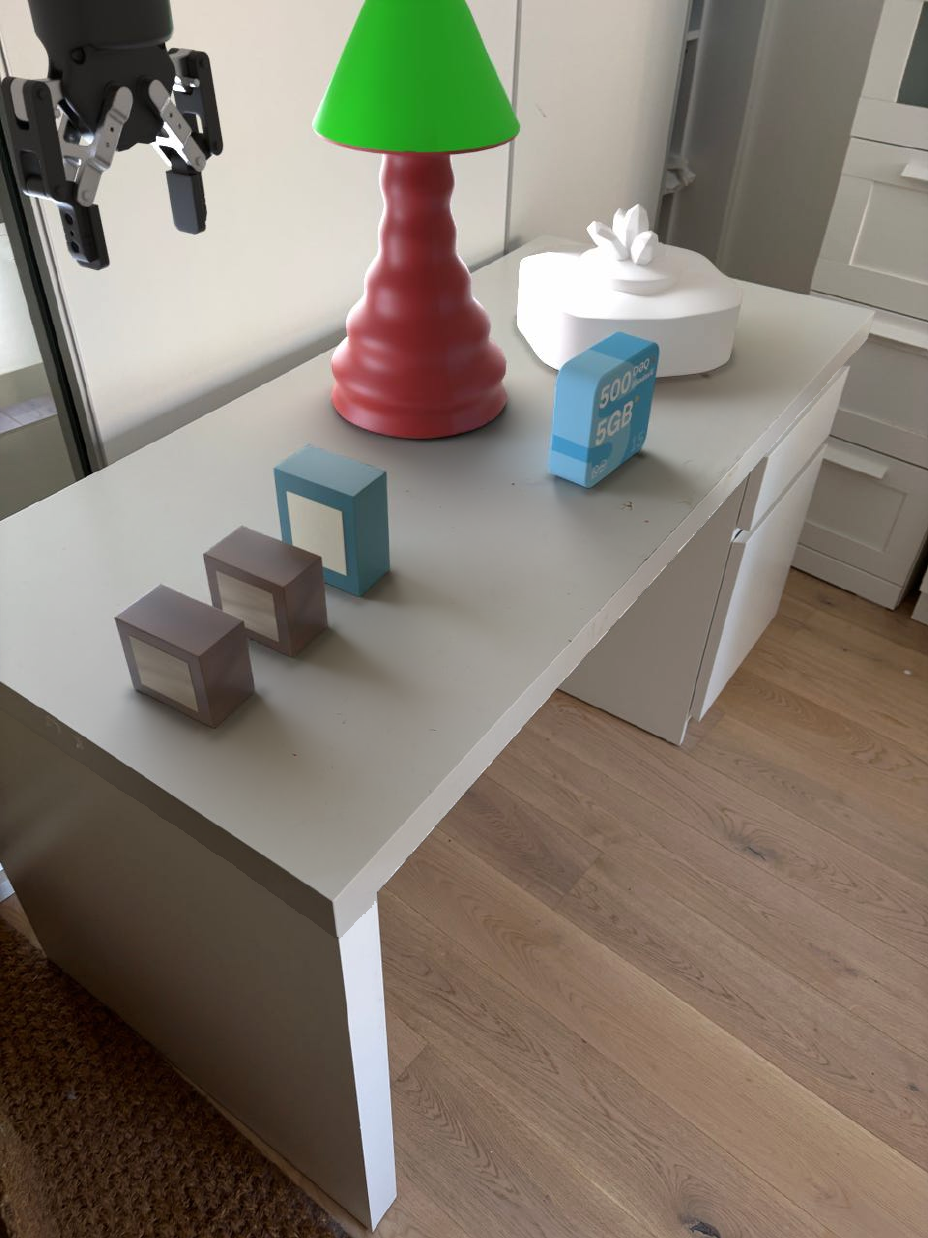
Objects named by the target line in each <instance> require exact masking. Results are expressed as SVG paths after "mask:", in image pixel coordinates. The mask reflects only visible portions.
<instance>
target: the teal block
mask: <svg viewBox="0 0 928 1238" xmlns="http://www.w3.org/2000/svg"><path fill="white" fill-rule="evenodd" d="M272 470H273V477H274V478H273V479H274V486H275V493H276V494H275V495H276V502H277V509H278V517H279V525H280V526H279V528H280V534H281V541H283V542H286V543H288V544H291V545H293V546H296V547H298V548H301V549H303V550H306V551H308V552H311V553H313V554H316V555H319V556H321V557H322V566H323V577H324V584H328V585H330V586H333V587H335V588H337V589H339V590H341V591H344V592H347V593H349V594H352V595H353V596H356V597H361V596H362V595H363V594H365V593H366V592H367V591H368V590H369V589H370V588H372V586H373V585H375V584H376V583H377V582H378V581H379V580H380V579H381V578H382V577H383V576H385V575H386V574H387V573H388V572H389V571H390V570H391V560H390V559H391V558H390V557H391V555H390V531H389V504H388V502H389V501H388V477H387V475H388V473H387V470H384V469H383V468H379V467H376V466H373V465H370V464H368V463H364V462H362V461H358V460H355V459H352V458H350V457H347V456H344V455H342V454H339V453H335V452H332V451H329V450H326V449H323V448H320V447H318V446H316V445H312V444H310V443H309V444H306V445H304V446H303V447H302V448H300V449H299V450H297V451H295V453H293V454H291V455H290V456H288V457H287V458H286V459H284V460H283V461H281V462H280V463H278V464H277V465H275V466H274V467H273V468H272Z"/></svg>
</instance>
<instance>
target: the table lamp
mask: <svg viewBox="0 0 928 1238" xmlns="http://www.w3.org/2000/svg"><path fill="white" fill-rule="evenodd" d="M473 16H474V15H473V14H472V12H471V9H470V7H469V5H468V3H467V1H466V0H364V2H363V4H362V6H361V8H360V11H359V13H358V15H357V17H356V19H355V22H354V24H353V27H352V29H351V32H350V34H349V36H348V38H347V41H346V43H345V45H344V47H343V50H342V53H341V54H340V57H339V59H338V62H337V64H336V67H335V69H334V70H333V73H332V75H331V78H330V81H329V83H328V85H327V88H326V90H325V93H324V95H323V97H322V99H321V101H320V104H319V106H318V108H317V111H316V113H315V116H314V118H313V119H312V129H313V131H314V133H315V134H316V135H317V136H318V137H319V138H321V139H322V140H324V141H326V142H327V143H329V144H333V145H335V146H338V147H341V148H346V149H350V150H354V151H358V152H359V151H360V152H366V153H372V154H379V155H382V159H381V165H380V170H379V175H378V184H379V190H380V192H381V193H380V194H381V197H382V200H383V211H382V214H381V217H380V220H379V223H378V229H377V238H378V239H377V240H378V252H377V254H376V256H375V257H374V259H372V262H371V263H370V264H369V266H368V269H367V270H366V273H365V275H364V276H365V277H364V293H363V294H362V297H361V298H360V299H359V300H358V301H357V302H356V303H355V304H354V305H353V306H352V307H351V309H350V310H349V312H348V314H347V316H346V320H345V328H346V330H345V331H346V335H347V336H346V337H345V338H344V339H343V340H341V342H340V343H339V345H337V346H336V348H335V350H334V352H333V354H332V356H331V358H330V368H331V374H332V376H333V378H334V380H335V381H334V384H333V387H332V389H331V391H330V398H331V399H330V400H331V403H332V405H333V407H334V409H335V410H336V411H337V412H338V413H339V414H340V415H341V417H342V418H344V419H345V420H346V421H347V422H349V423H350V424H352V425H354V426H355V427H357V428H360V429H363V430H366V431H368V432H372V433H376V434H379V435H383V436H389V437H394V438H400V439H410V440H411V439H413V440H427V439H438V438H439V439H440V438H444V437H451V436H456V435H459V434H464V433H469V432H471V431H475V430H477V429H478V428H482V427H484V426H485V425H487V424H488V423H489V422H491V421H492V420H494V419H495V418H496V417H497V416H498V415H499V414H500V413H501V412H502V411H503V409H504V407H505V405H506V404H507V400H508V392H507V389H506V387H505V384H504V381H503V380H504V378H505V376H506V372H507V362H508V361H507V359H506V356H505V353H504V352H503V350H502V349H501V347H500V346H499V345H498V343H497V342H496V341H495V340H494V339H493V338H492V337H491V330H492V323H491V321H492V320H491V318H490V315H489V313H488V312H487V310H486V309H485V307H484V306H483V305H482V304H481V303H480V302H479V300H478V299H476V298H475V296H474V295H473V281H472V276H471V273H470V271H469V269H468V268H469V267H468V266H467V265H466V264H465V262H464V261H463V260H462V258H461V257H460V254H459V252H458V236H459V235H458V234H459V233H458V227H457V224H456V221H455V218H454V214H453V210H452V201H453V196H454V193H455V189H456V183H457V180H456V174H455V173H456V172H455V170H454V165H453V159H452V156H453V155H463V154H471V153H478V152H483V151H488V150H493V149H495V148H498V147H502V146H503V145H504V146H505V145H506V144H509V143H510V142H512V141H513V140H515V139H516V138H517V136H519V133H520V132H521V123H520V122H519V119H518V116H517V115H516V112H515V110H514V108H513V106H512V103H511V100H510V99H509V96H508V94H507V92H506V89H505V88H504V84H503V82H502V80H501V78H500V76H499V73H498V71H497V69H496V67H495V64H494V62H493V59H492V57H491V55H490V53H489V51H488V48H487V46H486V43H485V42H484V39H483V37H482V35H481V32H480V30H479V28H478V26H477V23H476V21H475V19H474V17H473Z"/></svg>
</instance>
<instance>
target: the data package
mask: <svg viewBox="0 0 928 1238" xmlns="http://www.w3.org/2000/svg"><path fill="white" fill-rule="evenodd" d="M658 360H659V346H658V344H657V343H655V342H652V341H648V340H645V339H642V338H639V337H635V336H632V335H629V334H626V333H622V332H615V333H613V334H612V335H610V336H608V337H607V338H605V339H604V340H602V341H600V342H599V343H597V344H595V345H594V346H592V347H590V348H589V349H587V350H585V351H584V352H582V353H580V354H579V355H577V356H575V357H574V358H572V359H570V360H569V361H567V362H566V363H565V364H564V365H563V366H562V367H561V369H560V371H559V370H558V373H557V376H556V379H555V389H554V400H553V411H552V425H551V432H550V433H551V436H550V445H549V446H550V447H549V448H550V449H549V457H548V458H549V459H548V468H549V469H548V470H549V472H550V474H551V475H554V476H556V477H560V478H562V479H564V480H567V481H569V482H572V483H575V484H577V485H579V486H582V487H584V488H586V489H587V488H588V489H590V488H593V487H594V486H595V485H597V484H598V483H599V482H601V481H602V480H603V479H605V478H606V477H607V476H608V475H610V474H611V473H613V471H615V470H616V469H618V468H619V467H620V466H622V465H623V464H624V463H625V462H627V460H629V459H630V458H632V457H633V456H634V455H635V454H637V453H639V451H640V450H641V449H642V448H643V446H644V444H645V441H646V439H647V436H648V435H647V434H648V429H649V423H650V415H651V409H652V404H653V396H654V390H655V384H656V379H657V378H656V372H657V366H658Z"/></svg>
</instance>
